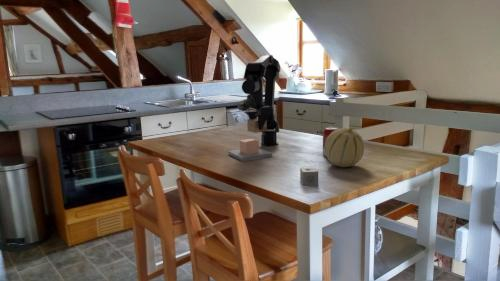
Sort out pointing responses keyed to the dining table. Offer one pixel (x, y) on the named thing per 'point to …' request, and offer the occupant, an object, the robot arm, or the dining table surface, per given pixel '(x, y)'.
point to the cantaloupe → (344, 147)
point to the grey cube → (309, 176)
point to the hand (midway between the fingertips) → (256, 128)
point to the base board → (249, 155)
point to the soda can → (325, 135)
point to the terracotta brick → (249, 146)
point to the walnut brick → (255, 126)
